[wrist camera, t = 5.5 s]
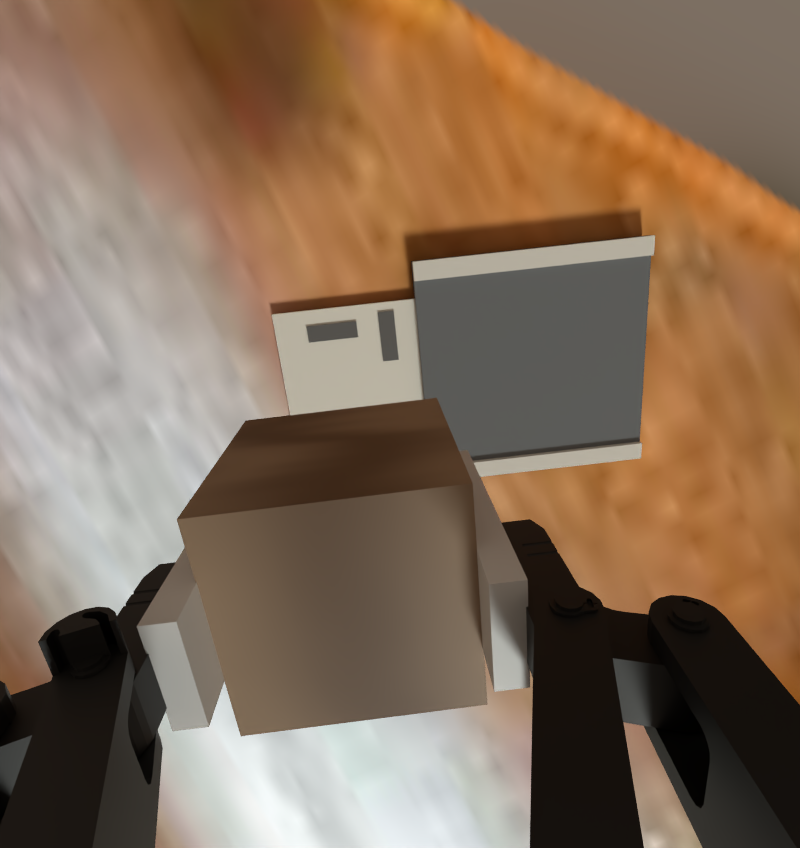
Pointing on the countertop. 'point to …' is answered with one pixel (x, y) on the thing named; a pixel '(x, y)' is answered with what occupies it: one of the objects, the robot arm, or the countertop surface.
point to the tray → (537, 351)
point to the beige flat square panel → (349, 356)
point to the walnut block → (340, 567)
